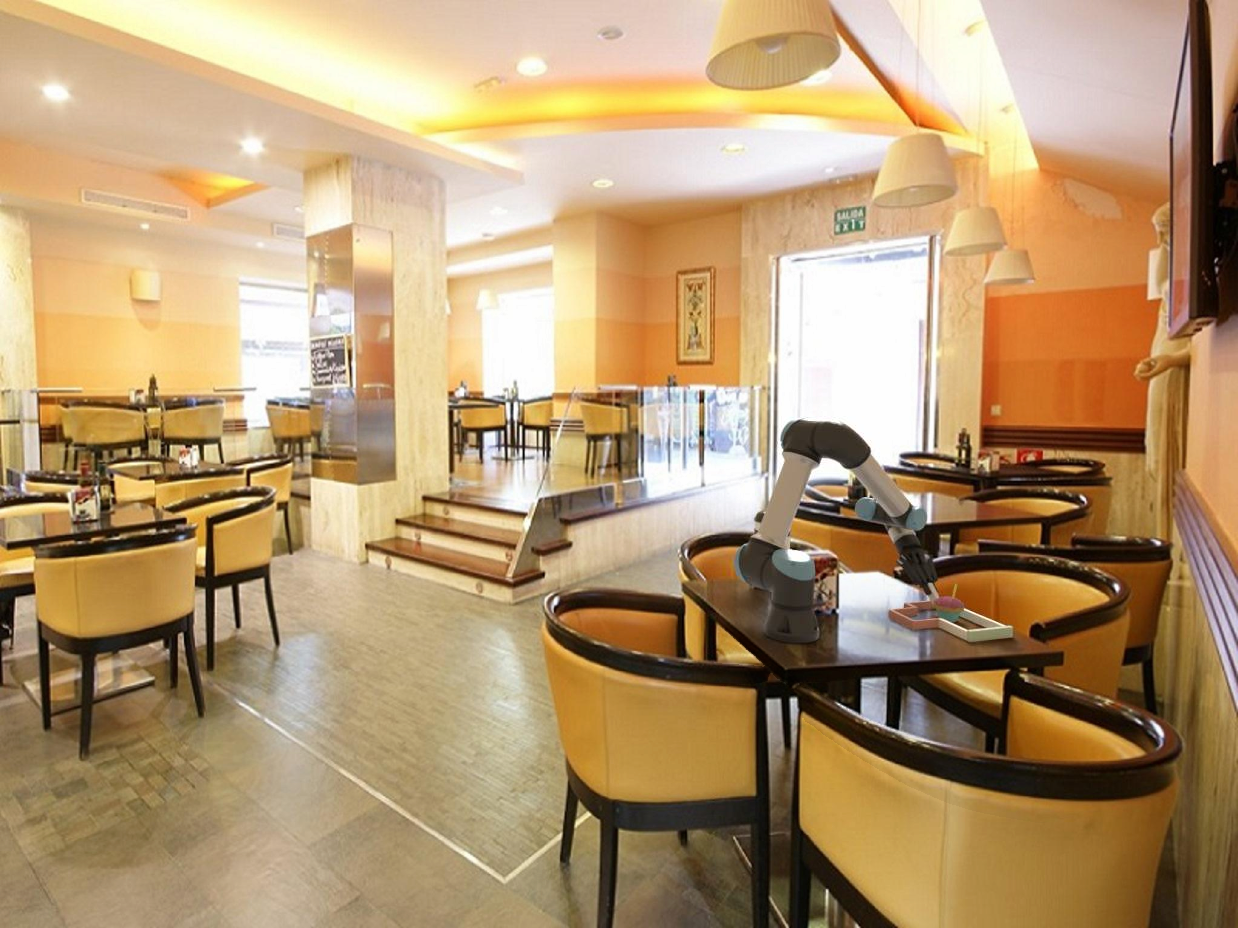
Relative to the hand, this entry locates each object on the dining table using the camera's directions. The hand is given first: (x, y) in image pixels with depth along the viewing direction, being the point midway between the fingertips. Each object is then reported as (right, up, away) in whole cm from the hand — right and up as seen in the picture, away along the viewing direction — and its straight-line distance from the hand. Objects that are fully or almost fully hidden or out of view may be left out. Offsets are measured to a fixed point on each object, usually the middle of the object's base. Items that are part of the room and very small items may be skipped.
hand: (937, 603), depth 214 cm
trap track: (-3, -4, -9) cm, 10 cm away
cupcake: (+1, -4, -5) cm, 7 cm away
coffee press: (-46, -1, +27) cm, 53 cm away
